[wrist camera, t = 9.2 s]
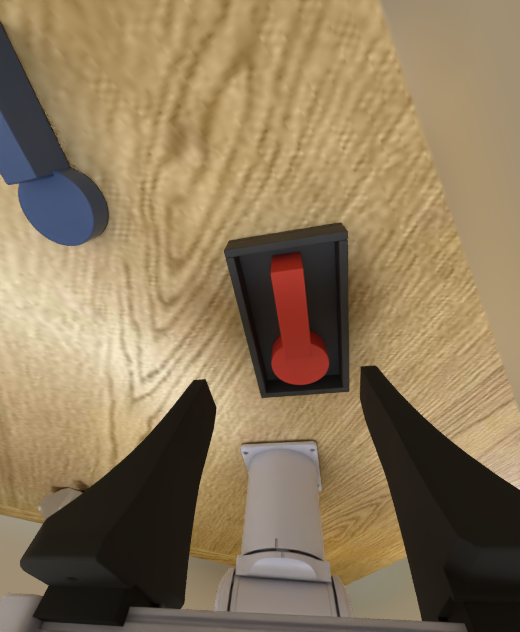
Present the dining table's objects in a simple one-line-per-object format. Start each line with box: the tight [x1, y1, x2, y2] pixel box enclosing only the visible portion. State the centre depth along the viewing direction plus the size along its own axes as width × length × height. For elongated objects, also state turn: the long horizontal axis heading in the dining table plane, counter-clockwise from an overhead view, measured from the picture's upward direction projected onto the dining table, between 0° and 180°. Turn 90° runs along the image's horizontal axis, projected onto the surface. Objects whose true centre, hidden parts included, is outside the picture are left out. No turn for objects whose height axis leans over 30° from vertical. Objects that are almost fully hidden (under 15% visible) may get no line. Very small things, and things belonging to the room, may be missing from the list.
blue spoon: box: [0, 23, 108, 246], centre depth 14 cm, size 10×4×3 cm, turn 10°
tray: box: [224, 223, 349, 398], centre depth 19 cm, size 13×7×2 cm, turn 10°
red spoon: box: [271, 252, 329, 385], centre depth 19 cm, size 10×4×3 cm, turn 10°
